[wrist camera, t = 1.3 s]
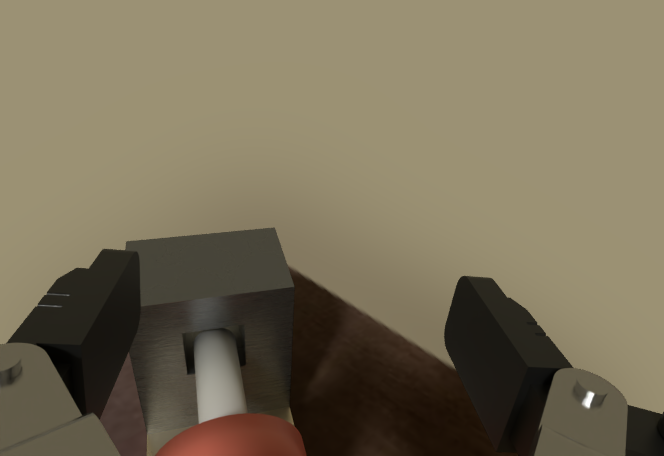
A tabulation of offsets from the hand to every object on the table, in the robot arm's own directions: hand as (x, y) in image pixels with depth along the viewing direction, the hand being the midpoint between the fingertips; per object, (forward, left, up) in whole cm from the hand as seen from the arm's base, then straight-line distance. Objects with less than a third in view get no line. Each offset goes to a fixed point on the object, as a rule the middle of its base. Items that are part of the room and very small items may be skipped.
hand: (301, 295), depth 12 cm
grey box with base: (+7, -8, -22) cm, 24 cm away
